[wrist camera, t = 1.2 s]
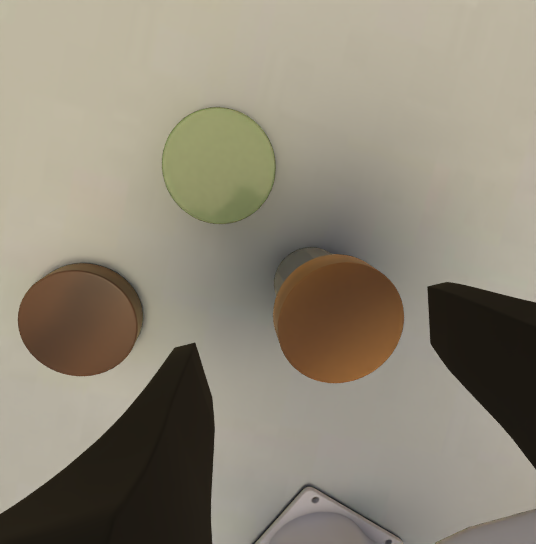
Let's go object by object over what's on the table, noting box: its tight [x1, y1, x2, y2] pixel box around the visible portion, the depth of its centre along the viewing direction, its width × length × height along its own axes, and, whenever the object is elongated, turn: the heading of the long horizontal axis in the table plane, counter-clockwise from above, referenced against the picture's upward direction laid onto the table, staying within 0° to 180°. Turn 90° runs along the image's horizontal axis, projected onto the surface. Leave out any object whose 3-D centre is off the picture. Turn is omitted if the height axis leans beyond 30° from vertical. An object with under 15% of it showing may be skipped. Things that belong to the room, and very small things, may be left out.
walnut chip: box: [18, 263, 143, 376], centre depth 22 cm, size 6×6×2 cm
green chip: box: [162, 107, 276, 224], centre depth 21 cm, size 6×6×2 cm
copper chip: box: [273, 254, 404, 383], centre depth 18 cm, size 6×6×2 cm
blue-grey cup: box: [274, 247, 332, 296], centre depth 21 cm, size 4×4×5 cm
